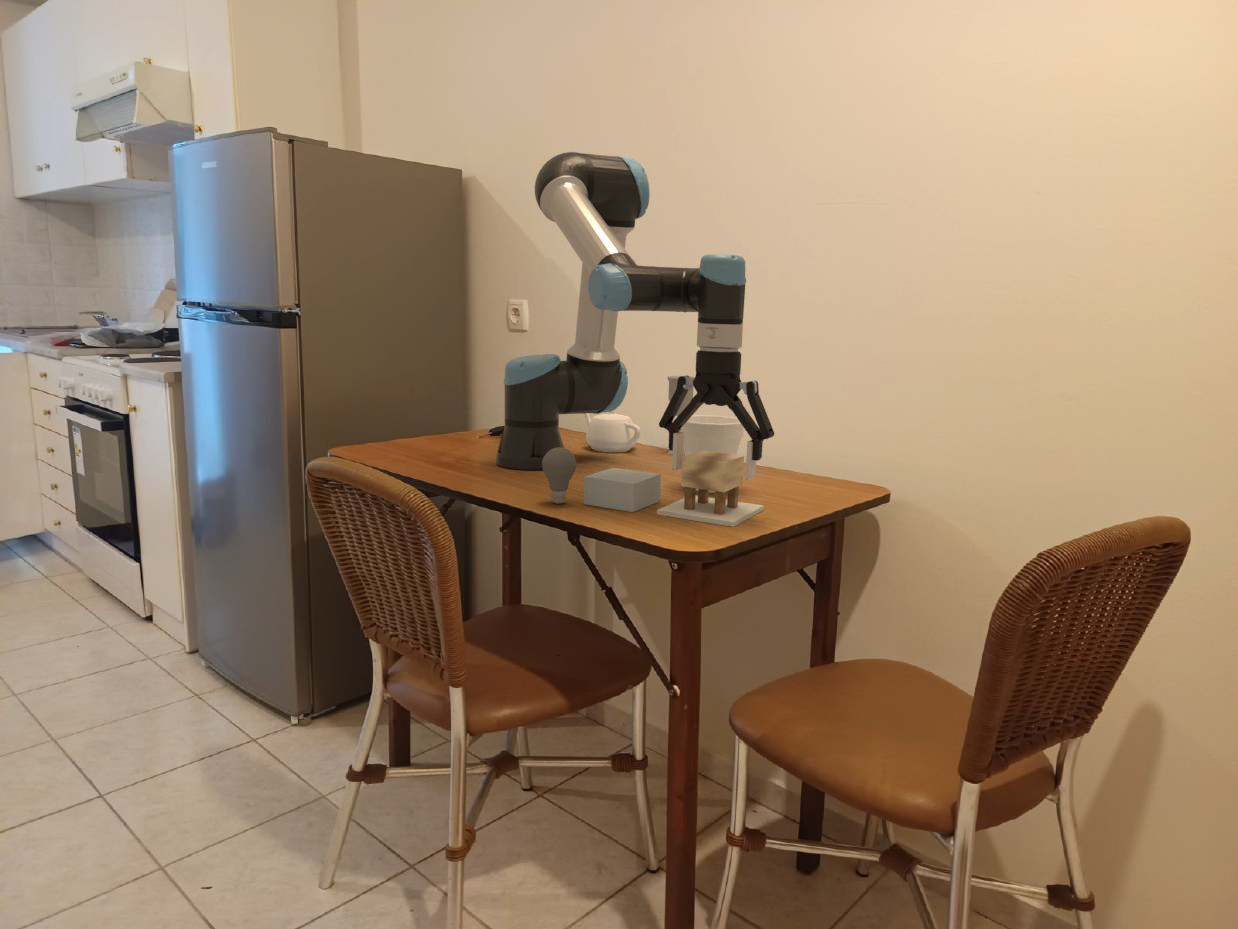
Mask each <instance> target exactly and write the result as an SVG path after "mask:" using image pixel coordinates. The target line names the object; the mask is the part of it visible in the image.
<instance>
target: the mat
mask: <svg viewBox="0 0 1238 929" xmlns="http://www.w3.org/2000/svg"><path fill="white" fill-rule="evenodd" d="M684 498H685V497H683V498H681V499H679V500H677V501H674V502H671V503H670V504H667V505H665V506H663V507H659V508H658V509H656V515H659V516H664V517H670V518H677V519H682V520H689V521H694V522H695V521H696V522H701V523H707V524H713V525H720V526H726V527H730V528H731V527H732V528H735V527H736V526H737V525H739V524H741V523H743V522H745V521H747V520H748V519H750V518H752V517H754V516H756V515H758V514H759V513H761V512H763V511H764V510H765V505H763V504H757V503H750V502H749V503H748V502H742V501H738V507H736V508H730V507H727V499H726V505H725V513H724V514H722V515H720V514H714V506H715V497H710V496H708V503H705V504H703V503H698V495H695V509H693V510H688V509H684Z"/></svg>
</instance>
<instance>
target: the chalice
mask: <svg viewBox="0 0 1238 929" xmlns="http://www.w3.org/2000/svg"><path fill="white" fill-rule="evenodd" d="M680 376H681V375H668V376H667V377H666V378H667V381H668V401H669V402H670V401H671V399H672V397H673V395H674V393H675V391H676V388H677V381H678V378H679V377H680ZM688 376H689V375H688ZM689 377H690V378H695V376H689ZM693 397H694V386H693V385H692V387H691V388H690V389H688V392H687V394H686V396H685V398H684V400H683V402H682V404H681V406H680V408H679V410H678V412H677V414H676V416H675V417H676V418H677V417H678V416H679V414H680V413H681V412H682V411H683V410H684V409H685V408H686V406H687V405H688V404H689V403H690V402H691V400H692V398H693ZM669 402H668V403H669ZM679 432H680V430H679ZM667 454H669V455H673V450H669V449H668V452H667ZM683 456H685V452H684V447H683Z"/></svg>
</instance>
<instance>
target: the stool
mask: <svg viewBox="0 0 1238 929" xmlns="http://www.w3.org/2000/svg"><path fill="white" fill-rule="evenodd" d="M744 465H745V455H741V454H740V455H739V454H737V455H733V454H724V453H716V452H708V451H700V452H697V453H694V454H691V455H688V456H685V455H684V456H683V457H682V469H681V480H680V481H681V482H680V485H681V487H684V497H683V498H684V509H688V510H693V509H695V495H696V494H697V495H696V496H698V503H703V504H705V503H708V497H709V494H710V493H709V490H711V491H715V493H714V498H715V506H714V514H720V515H722V514H724V513H725V505H726V500H727V507H730V508H736V507H738V502H739V487H740V486H741V485H743V482H744V468H745V467H744ZM696 488H697V489H698V491H696Z"/></svg>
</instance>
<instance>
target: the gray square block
mask: <svg viewBox="0 0 1238 929" xmlns="http://www.w3.org/2000/svg"><path fill="white" fill-rule="evenodd" d="M583 478H584V480H583V481H584V482H583V505H586V506H591V507H592V506H593V507H599V508H605V509H611V510H616V511H623V512H628V513H629V512H630V513H635V512H637V511H640V510H643V509H645V508H647V507H649V506H651V505H654V504H657V503H660V502H661V483H662V482H661V481H662V480H661V478H662V475H661V473H654V472H647V471H641V470H640V471H638V470H631V469H625V468H617V467H610V468H608V469H603V470H601V471H597V472H595V473H592V474H589V475H585V476H583Z"/></svg>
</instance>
